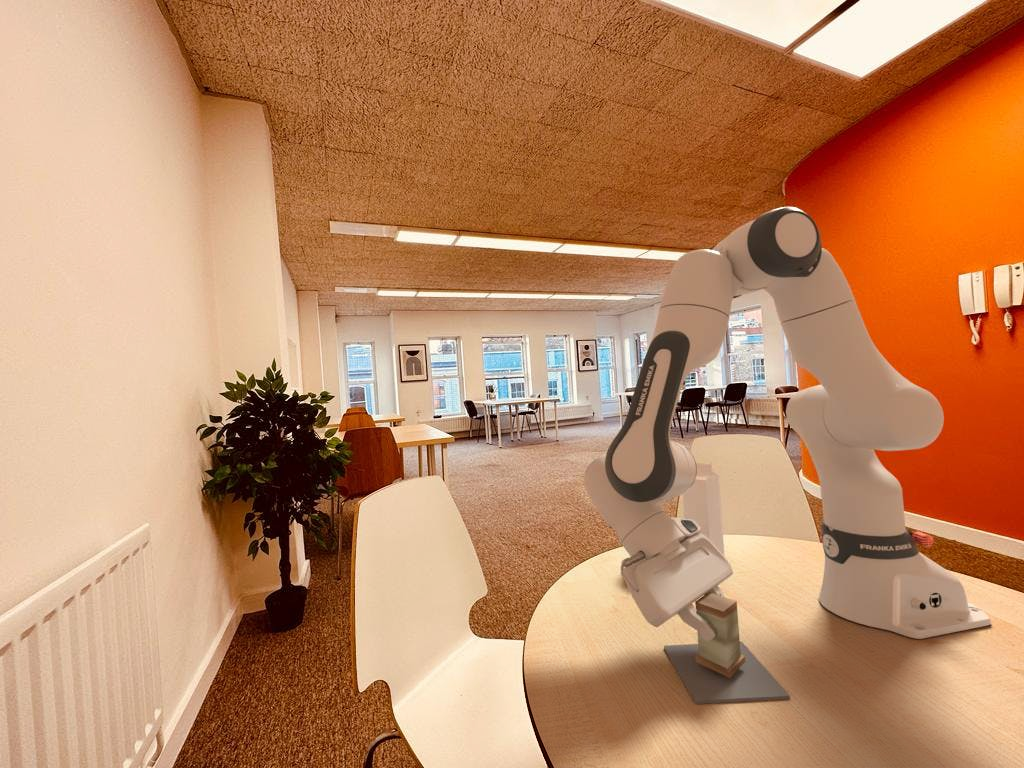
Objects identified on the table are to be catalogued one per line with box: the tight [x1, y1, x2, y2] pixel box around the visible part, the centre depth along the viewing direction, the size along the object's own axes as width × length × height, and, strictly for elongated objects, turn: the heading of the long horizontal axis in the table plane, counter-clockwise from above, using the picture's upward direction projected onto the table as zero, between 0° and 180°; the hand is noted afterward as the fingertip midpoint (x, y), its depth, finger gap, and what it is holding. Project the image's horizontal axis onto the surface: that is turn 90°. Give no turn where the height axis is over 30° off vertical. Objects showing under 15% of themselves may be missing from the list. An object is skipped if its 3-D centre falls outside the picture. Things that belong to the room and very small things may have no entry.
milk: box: [682, 462, 726, 557], centre depth 101 cm, size 6×6×22 cm
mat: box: [663, 640, 791, 705], centre depth 61 cm, size 12×12×1 cm
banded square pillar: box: [694, 592, 745, 678], centre depth 61 cm, size 5×5×8 cm
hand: (722, 629), depth 61 cm, fingers closed on banded square pillar, 4 cm apart
